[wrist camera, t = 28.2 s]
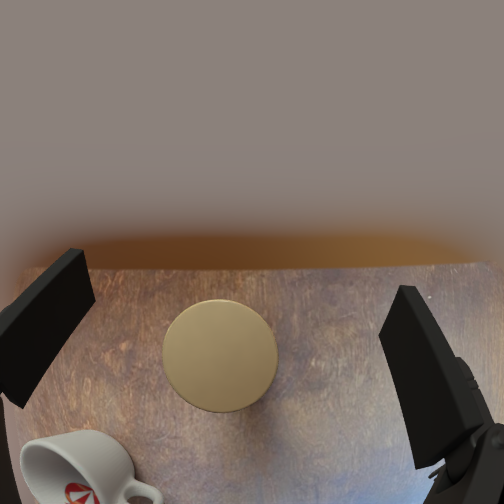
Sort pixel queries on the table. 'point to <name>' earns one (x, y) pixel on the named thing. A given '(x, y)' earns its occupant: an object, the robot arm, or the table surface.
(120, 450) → the cup
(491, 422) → the robot arm
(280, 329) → the table surface
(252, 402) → the tan wooden cylinder
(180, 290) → the table surface
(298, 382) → the table surface
